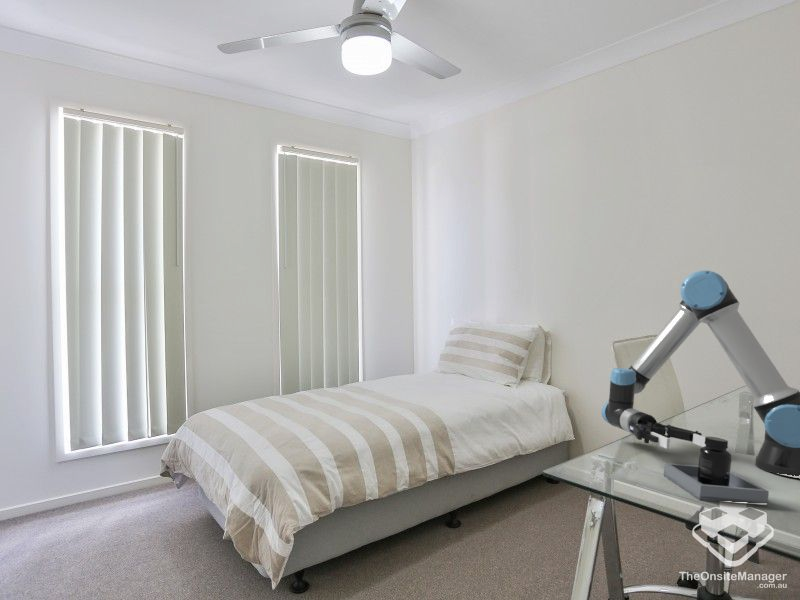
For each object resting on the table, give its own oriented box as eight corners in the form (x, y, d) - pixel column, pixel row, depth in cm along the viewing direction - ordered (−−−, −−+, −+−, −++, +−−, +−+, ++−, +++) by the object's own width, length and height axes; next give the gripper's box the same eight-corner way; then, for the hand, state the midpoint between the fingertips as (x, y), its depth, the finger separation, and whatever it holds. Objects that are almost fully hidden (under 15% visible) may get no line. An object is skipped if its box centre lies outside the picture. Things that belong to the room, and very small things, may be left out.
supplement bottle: (734, 493, 119) (738, 444, 119) (703, 488, 120) (707, 440, 120) (721, 483, 125) (725, 437, 125) (692, 479, 127) (696, 433, 127)
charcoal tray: (723, 480, 131) (724, 468, 131) (767, 506, 115) (768, 491, 115) (663, 475, 131) (664, 462, 131) (699, 500, 115) (700, 485, 115)
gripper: (673, 437, 154) (729, 459, 133) (601, 434, 149) (648, 457, 129) (675, 413, 154) (731, 432, 133) (603, 410, 149) (650, 428, 129)
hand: (690, 444), depth 131 cm, fingers open, 13 cm apart
